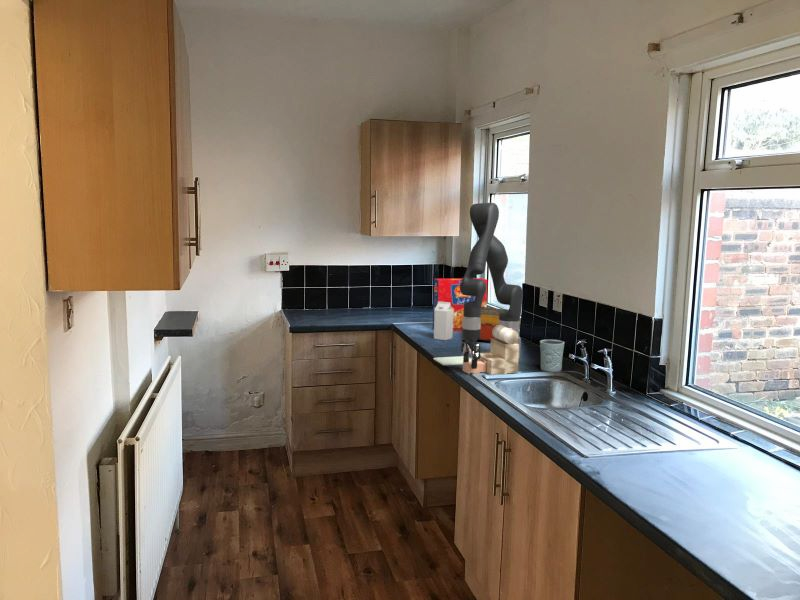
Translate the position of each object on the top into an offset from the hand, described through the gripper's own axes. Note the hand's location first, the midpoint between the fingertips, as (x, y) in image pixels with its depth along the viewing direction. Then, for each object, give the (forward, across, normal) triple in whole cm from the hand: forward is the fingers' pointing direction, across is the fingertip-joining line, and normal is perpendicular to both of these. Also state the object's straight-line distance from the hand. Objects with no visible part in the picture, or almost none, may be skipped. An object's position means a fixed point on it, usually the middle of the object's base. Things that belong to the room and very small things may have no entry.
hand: (469, 366), depth 277 cm
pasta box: (+2, +89, -32) cm, 95 cm away
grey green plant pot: (+2, -4, -35) cm, 36 cm away
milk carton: (+2, +67, -14) cm, 69 cm away
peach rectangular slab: (+3, 0, -4) cm, 5 cm away
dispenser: (+2, 0, -12) cm, 13 cm away
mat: (+2, +19, -1) cm, 19 cm away
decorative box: (+2, +59, -36) cm, 69 cm away
